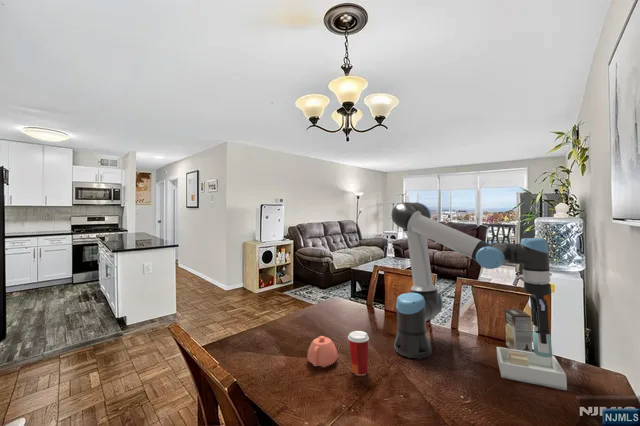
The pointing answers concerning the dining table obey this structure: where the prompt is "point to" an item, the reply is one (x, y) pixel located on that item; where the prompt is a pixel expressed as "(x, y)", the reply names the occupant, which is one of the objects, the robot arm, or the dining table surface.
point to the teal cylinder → (535, 344)
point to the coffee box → (518, 330)
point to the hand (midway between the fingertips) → (541, 348)
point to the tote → (532, 369)
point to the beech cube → (518, 359)
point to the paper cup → (359, 351)
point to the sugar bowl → (322, 352)
